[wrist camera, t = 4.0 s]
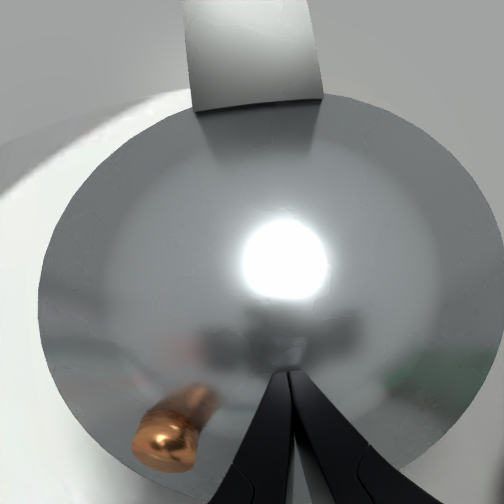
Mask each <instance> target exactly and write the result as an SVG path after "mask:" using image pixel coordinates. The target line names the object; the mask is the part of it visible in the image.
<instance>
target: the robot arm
mask: <svg viewBox="0 0 504 504" xmlns="http://www.w3.org/2000/svg"><path fill="white" fill-rule="evenodd" d="M294 436H295V437H294ZM295 442H296V446H297V450H298V454H299V457H300V461H301V465H302V468H303V472H304V476H305V479H306V483H307V487H308V490H309V494H310V497H311V501H312V504H443V503H442V502H440V501H438V500H437V499H435V498H434V497H433V496H431V495H430V494H428V493H427V492H426V491H424V490H423V489H422V488H420V487H419V486H417V485H416V484H415V483H413V482H412V481H411V480H409V479H408V478H407V477H405V476H404V475H403V474H402V473H400V472H399V471H398V470H397V469H396V468H394V467H393V466H392V465H391V464H390V463H389V462H388V461H387V460H386V459H385V458H384V457H382V456H381V455H380V454H379V453H378V452H377V450H376V449H375V448H374V447H373V446H372V445H371V444H369V442H368V441H367V440H366V439H365V438H364V437H363V436H362V435H361V434H360V433H359V432H358V430H357V429H356V428H355V427H354V426H353V425H352V424H351V423H350V422H349V421H348V420H347V419H346V417H345V416H344V415H343V414H342V413H341V412H340V411H339V410H338V409H337V408H336V407H335V405H334V404H333V403H332V402H331V401H330V400H329V399H328V398H327V397H326V395H325V394H324V393H323V392H322V391H321V390H320V389H319V388H318V387H317V385H316V384H315V383H314V382H313V381H312V380H311V379H310V378H309V376H308V375H307V374H306V373H305V372H304V371H303V370H293V371H289V372H288V373H287V372H277V373H273V374H272V376H271V378H270V380H269V383H268V385H267V387H266V390H265V392H264V394H263V396H262V399H261V401H260V403H259V405H258V408H257V410H256V412H255V414H254V416H253V419H252V421H251V423H250V425H249V427H248V429H247V432H246V434H245V436H244V438H243V440H242V442H241V444H240V446H239V449H238V451H237V453H236V455H235V457H234V459H233V461H232V463H233V464H231V465H230V467H229V469H228V471H227V473H226V475H225V477H224V478H223V480H222V482H221V484H220V486H219V487H218V489H217V491H216V492H215V494H214V495H213V497H212V498H211V500H210V501H209V502H208V504H293V488H294V460H295Z"/></svg>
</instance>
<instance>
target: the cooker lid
mask: <svg viewBox="0 0 504 504" xmlns="http://www.w3.org/2000/svg"><path fill="white" fill-rule="evenodd" d="M182 9H183V20H184V31H185V42H186V52H187V62H188V71H189V80H190V89H191V98H192V106H193V107H192V108H189V109H186V110H184V111H181V112H179V113H176V114H174V115H171V116H169V117H166V118H165V119H163V120H161V121H159V122H158V123H156V124H154V125H153V126H151V127H149V128H147V129H146V130H144V131H142V132H141V133H139V134H137V135H136V136H134V137H133V138H131V139H129V140H128V141H127V142H126V143H124V144H123V145H122V146H121V147H120V148H118V149H117V150H116V151H115V152H114V153H113V154H111V155H110V156H109V157H108V158H107V159H106V160H104V161H103V162H102V163H101V164H100V165H99V166H98V167H97V168H96V169H95V170H94V171H93V172H92V174H91V175H90V176H89V177H88V178H87V180H86V181H85V182H84V183H83V184H82V186H81V187H80V188H79V189H78V191H77V192H76V193H75V194H74V196H73V197H72V199H71V200H70V202H69V204H68V205H67V207H66V209H65V211H64V212H63V214H62V216H61V218H60V220H59V221H58V223H57V225H56V227H55V229H54V232H53V234H52V237H51V240H50V243H49V245H48V248H47V251H46V254H45V257H44V261H43V266H42V271H41V277H40V282H39V288H38V322H39V330H40V337H41V343H42V347H43V351H44V355H45V358H46V361H47V365H48V368H49V371H50V373H51V375H52V378H53V380H54V382H55V384H56V387H57V389H58V391H59V393H60V395H61V396H62V398H63V400H64V401H65V403H66V404H67V406H68V408H69V409H70V411H71V412H72V414H73V415H74V416H75V418H76V419H77V420H78V422H79V423H80V424H81V425H82V426H83V428H84V429H85V430H86V431H87V433H88V434H89V435H90V436H91V437H92V438H93V439H94V440H95V441H96V442H97V443H98V444H99V445H101V446H102V447H103V448H104V449H105V450H106V451H107V452H108V453H110V454H111V455H112V456H113V457H115V458H116V459H117V460H119V461H120V462H121V463H122V464H124V465H126V466H127V467H129V468H130V469H132V470H133V471H135V472H137V473H138V474H140V475H141V476H143V477H145V478H147V479H149V480H151V481H153V482H155V483H157V484H159V485H161V486H163V487H166V488H168V489H171V490H173V491H176V492H179V493H181V494H184V495H187V496H191V497H194V498H198V499H201V500H205V501H210V500H211V498H212V497H213V495H214V494H215V492H216V491H217V489H218V487H219V486H220V484H221V482H222V480H223V478H224V477H225V475H226V473H227V471H228V469H229V467H230V465H231V464H233V463H232V461H233V459H234V457H235V455H236V453H237V451H238V449H239V446H240V444H241V442H242V440H243V438H244V436H245V434H246V432H247V429H248V427H249V425H250V423H251V421H252V419H253V416H254V414H255V412H256V410H257V408H258V405H259V403H260V401H261V399H262V396H263V394H264V392H265V390H266V387H267V385H268V383H269V380H270V378H271V376H272V374H273V373H277V372H287V373H288V372H289V371H293V370H303V371H304V372H305V373H306V374H307V375H308V376H309V378H310V379H311V380H312V381H313V382H314V383H315V384H316V385H317V387H318V388H319V389H320V390H321V391H322V392H323V393H324V394H325V395H326V397H327V398H328V399H329V400H330V401H331V402H332V403H333V404H334V405H335V407H336V408H337V409H338V410H339V411H340V412H341V413H342V414H343V415H344V416H345V417H346V419H347V420H348V421H349V422H350V423H351V424H352V425H353V426H354V427H355V428H356V429H357V430H358V432H359V433H360V434H361V435H362V436H363V437H364V438H365V439H366V440H367V441H368V442H369V444H371V445H372V446H373V447H374V448H375V449H376V450H377V452H378V453H379V454H380V455H381V456H382V457H384V458H385V459H386V460H387V461H388V462H389V463H390V464H391V465H392V466H393V467H394V468H396V469H397V470H400V469H401V468H403V467H405V466H406V465H407V464H409V463H410V462H412V461H413V460H415V459H416V458H417V457H419V456H420V455H422V454H423V453H424V452H425V451H427V450H428V449H429V448H430V447H431V446H432V445H434V444H435V443H436V442H437V441H438V440H439V439H440V438H441V437H442V436H443V435H444V434H445V433H446V432H447V431H448V430H449V429H450V428H451V427H452V426H453V425H454V424H455V423H456V422H457V420H458V419H459V418H460V417H461V415H462V414H463V413H464V412H465V410H466V409H467V408H468V406H469V405H470V404H471V402H472V401H473V399H474V398H475V396H476V394H477V393H478V391H479V390H480V388H481V386H482V385H483V383H484V381H485V379H486V377H487V375H488V373H489V371H490V368H491V366H492V364H493V362H494V359H495V356H496V354H497V351H498V348H499V345H500V342H501V339H502V334H503V330H504V246H503V242H502V237H501V233H500V231H499V228H498V225H497V223H496V220H495V218H494V215H493V213H492V210H491V208H490V206H489V204H488V202H487V201H486V199H485V197H484V195H483V194H482V192H481V191H480V189H479V187H478V186H477V184H476V182H475V181H474V179H473V178H472V177H471V176H470V174H469V173H468V172H467V171H466V170H465V168H464V167H463V166H462V165H461V164H460V163H459V161H458V160H457V159H456V158H455V157H454V156H453V155H452V154H451V153H450V152H449V151H447V149H446V148H444V147H443V146H442V145H441V144H439V143H438V142H437V141H436V140H435V139H433V138H432V137H431V136H430V135H428V134H427V133H426V132H424V131H423V130H422V129H420V128H418V127H416V126H415V125H413V124H411V123H409V122H408V121H406V120H404V119H402V118H400V117H398V116H397V115H395V114H393V113H391V112H389V111H387V110H384V109H381V108H378V107H375V106H373V105H370V104H367V103H364V102H361V101H358V100H355V99H351V98H348V97H343V96H337V95H331V94H324V93H323V87H322V80H321V74H320V68H319V62H318V56H317V50H316V45H315V39H314V34H313V29H312V24H311V19H310V14H309V9H308V5H307V0H182ZM294 437H295V436H294ZM308 503H312V501H311V497H310V494H309V490H308V487H307V483H306V479H305V476H304V472H303V468H302V465H301V461H300V457H299V454H298V450H297V446H296V442H295V460H294V488H293V504H308Z"/></svg>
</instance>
